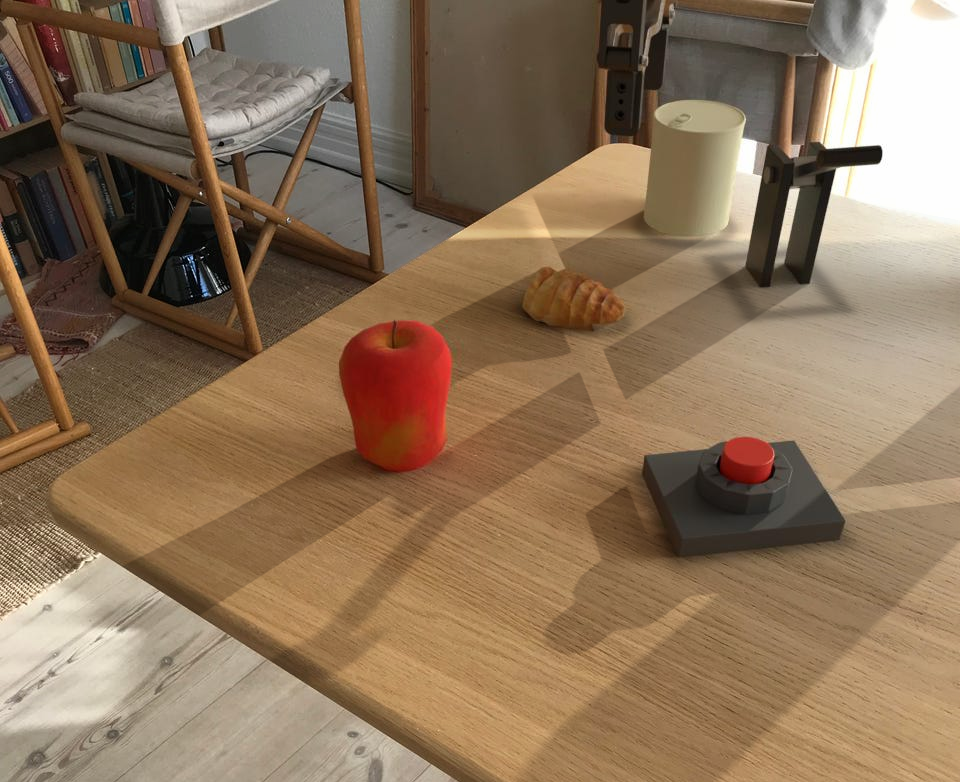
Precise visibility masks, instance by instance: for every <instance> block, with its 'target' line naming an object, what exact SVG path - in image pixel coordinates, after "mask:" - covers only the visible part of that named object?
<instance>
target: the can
mask: <svg viewBox="0 0 960 782" xmlns="http://www.w3.org/2000/svg"><path fill="white" fill-rule="evenodd" d="M746 122H747V117H746V114H744V112H743V111H742V110H740V109H739V108H737V107H735V106H733V105H730V104H727V103H723V102H719V101H715V100H705V99H683V100H676V101H672V102H667V103H664V104H662V105H660V106H658V107H657V108H656V109H655V110H654V112H653V114H652V131H651V132H652V134H651V145H650V155H649V164H648V174H647V183H646V192H645V193H646V194H645V202H644V209H643V210H644V212H643V220H644V222H645V223H646V224H647V225H648V226H649V227H650V228H652V229H653V230H656V231H658V232H661V233H663V234H667V235H669V236H670V235H671V236H676V237H685V238H686V237H687V238H688V237H689V238H692V237H693V238H695V237H697V238H698V237H706V236H711V235H714V234H717V233H719V232H721V231H723V230H724V229H725V228H726V227H727V226H728V224H729V220H730V213H731V207H732V201H733V193H734V188H735V187H734V186H735V181H736V176H737V170H738V169H737V168H738V163H739V156H740V150H741V144H742V139H743V135H744V129H745V125H746Z"/></svg>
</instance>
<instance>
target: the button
mask: <svg viewBox="0 0 960 782" xmlns="http://www.w3.org/2000/svg"><path fill="white" fill-rule="evenodd" d="M727 441H728V442H727ZM727 441H726V442H727V443H726V444H725V445H724V447H723V452H722V457H721V462H720V472H721V474H722V475H723V476H724V477H726V478H728V479H729V480H731V481H733V482H738V483H743V484H747V485H749V484H759V483H763V482H764V481H766V480H767V479H768V478H769V476H770V472H771V468H772V464H773V459H774V450H773V449H772V447H771V446H770V445H769V444H768V443H769V442H766V441H765V440H763V439H760V438H757V437H752V436H738V437H734V438H731V439H729V440H727Z"/></svg>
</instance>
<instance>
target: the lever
mask: <svg viewBox="0 0 960 782" xmlns="http://www.w3.org/2000/svg"><path fill="white" fill-rule="evenodd" d="M789 158H790V159H791V160H792V161H793V162H794V163H795V165H794V170H793V175H792V180H791V185H790V190H796V189H800V188H805V187H808V186H812V185H815V184H816V175H817V174H820V173H823V172H827V171H830V170H834V169H836V170H837V169H840V168H849V167H861V166H862V167H863V166H875V165H876V166H877V165H879V164H880V163H881V162H882V159H883V147H882V146H881V145H879V144H876V145H861V146H860V145H859V146H848V147H833V148H826V149H821V150H820V151H819V152H818V155H817V160H816V156H807V155H806V156H805V155H804V156H793V157H789Z"/></svg>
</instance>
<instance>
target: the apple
mask: <svg viewBox="0 0 960 782" xmlns="http://www.w3.org/2000/svg"><path fill="white" fill-rule="evenodd" d="M452 360H453V359H452V353H451V350H450V348H449V346H448V345H447V343H446V341H445V339H444V337H443V335H442V334H441V333H439V332H438V331H437V330H436V329H435V327H433V326H431V325H429V324H426V323H424V322H421V321H419V320H405V319H404V320H403V319H402V320H399V319H397V320H395V319H393V321H386V322H381V323H377V324H374V325H372V326H370V327H367V328H365V329H362V330H360V331H359V332H358V333H356V334H355V335H354V336H352V337H351V338H350V339H349V341H348V342H347V344H345V346H344V348H343V351H342V353H341V357H340V359H339V361H338V375H339V380H340V385H341V389H342V394H343V396H344V400H345V403H346V406H347V410H348V412H349V415H350V418H351V423H352V429H353V435H354V442H355V446H356V447H355V449H356V450H357V452H358V453H359V454H360V455H361V456H362V457H363V459H365V460H367V461H368V462H370V463H372V464H374V465H376V466H378V467H381V468H382V469H384V470H385V471H391V472H397V473H400V472H411V471H414V470H415V471H416V470H417V469H421V468H424V467H425V466H426V465H428V464H429V463H430V462H432V461H433V460H434V459H435V458H436V457H437V456H438V455H439V454H441V452H442V451H443V450H444V448H445V445H446V443H447V441H448V437H447V436H448V435H447V434H448V433H447V416H446V414H447V413H446V412H447V411H446V410H447V405H448V399H449V392H450V386H451V378H452V369H453V361H452Z"/></svg>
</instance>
